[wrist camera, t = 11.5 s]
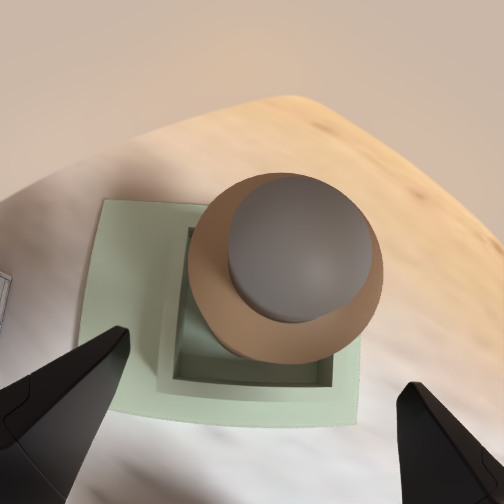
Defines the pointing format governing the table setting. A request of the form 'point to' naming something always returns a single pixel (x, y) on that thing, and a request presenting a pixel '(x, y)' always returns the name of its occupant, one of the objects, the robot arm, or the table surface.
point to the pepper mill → (285, 269)
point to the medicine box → (3, 292)
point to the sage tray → (194, 335)
